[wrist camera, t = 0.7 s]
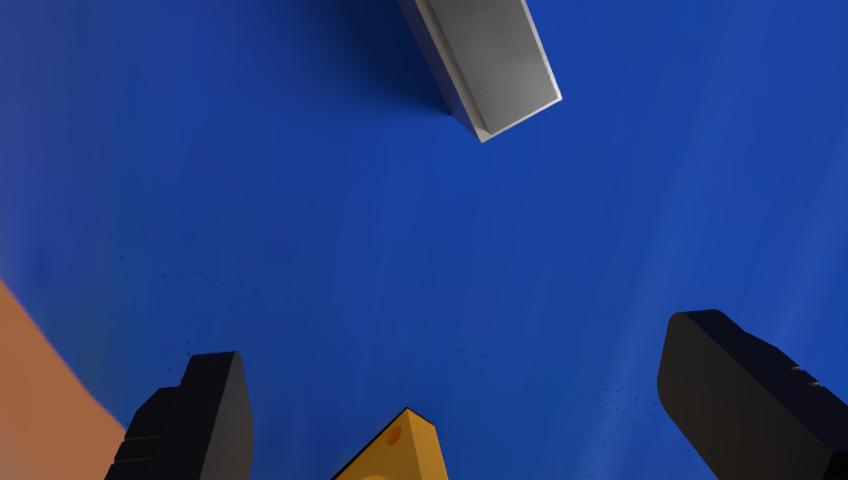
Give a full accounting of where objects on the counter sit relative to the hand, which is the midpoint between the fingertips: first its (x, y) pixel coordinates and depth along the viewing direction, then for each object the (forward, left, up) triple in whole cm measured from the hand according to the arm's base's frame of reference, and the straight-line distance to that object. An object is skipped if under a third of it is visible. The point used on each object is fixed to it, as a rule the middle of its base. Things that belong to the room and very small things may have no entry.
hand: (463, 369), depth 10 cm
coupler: (-6, -3, -21) cm, 22 cm away
